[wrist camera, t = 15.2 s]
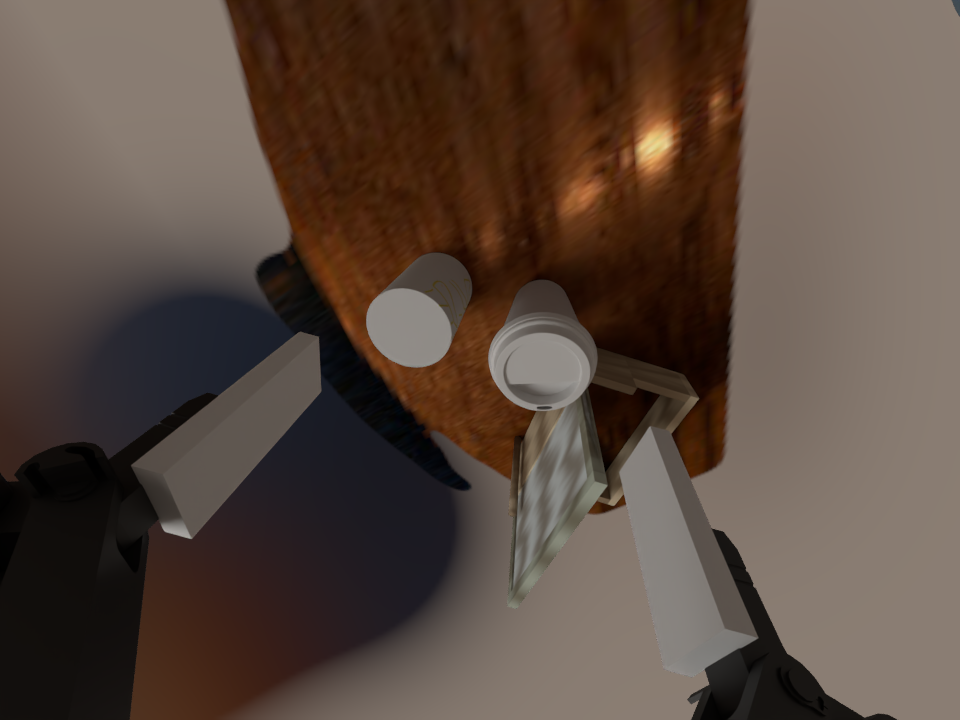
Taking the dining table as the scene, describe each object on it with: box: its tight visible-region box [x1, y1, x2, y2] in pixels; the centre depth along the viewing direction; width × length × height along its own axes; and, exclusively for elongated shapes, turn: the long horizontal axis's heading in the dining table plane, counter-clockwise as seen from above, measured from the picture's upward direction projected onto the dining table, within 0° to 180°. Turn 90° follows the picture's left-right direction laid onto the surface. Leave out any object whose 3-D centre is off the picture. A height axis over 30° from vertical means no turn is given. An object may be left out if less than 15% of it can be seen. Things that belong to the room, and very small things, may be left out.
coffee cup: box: [488, 280, 598, 411], centre depth 36 cm, size 10×10×15 cm
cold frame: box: [507, 347, 699, 609], centre depth 41 cm, size 21×16×22 cm
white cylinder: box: [366, 253, 472, 367], centre depth 38 cm, size 8×8×12 cm
